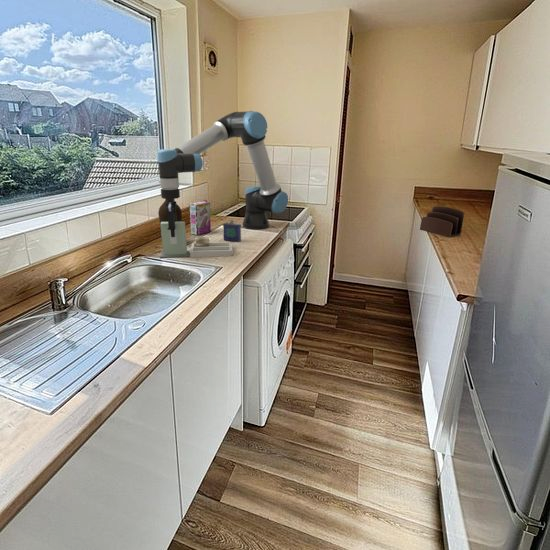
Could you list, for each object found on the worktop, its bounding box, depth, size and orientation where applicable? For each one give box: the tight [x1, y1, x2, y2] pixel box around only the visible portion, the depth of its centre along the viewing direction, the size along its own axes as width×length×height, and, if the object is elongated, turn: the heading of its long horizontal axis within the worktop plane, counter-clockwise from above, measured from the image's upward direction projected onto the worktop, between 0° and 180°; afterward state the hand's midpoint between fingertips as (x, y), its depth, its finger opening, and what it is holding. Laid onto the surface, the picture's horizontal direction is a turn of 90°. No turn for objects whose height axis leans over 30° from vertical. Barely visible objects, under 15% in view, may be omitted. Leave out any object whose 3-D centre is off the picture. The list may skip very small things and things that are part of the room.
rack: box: [189, 241, 233, 258], centre depth 171 cm, size 18×14×2 cm
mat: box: [159, 250, 190, 259], centre depth 166 cm, size 12×8×1 cm, turn 98°
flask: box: [222, 219, 242, 243], centre depth 187 cm, size 9×3×11 cm, turn 75°
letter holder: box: [419, 205, 465, 238], centre depth 211 cm, size 10×20×14 cm, turn 33°
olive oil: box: [158, 199, 183, 229], centre depth 177 cm, size 11×11×25 cm
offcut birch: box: [194, 236, 210, 246], centre depth 172 cm, size 6×4×3 cm
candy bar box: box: [189, 201, 212, 236], centre depth 199 cm, size 11×5×16 cm, turn 149°
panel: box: [159, 221, 188, 255], centre depth 163 cm, size 10×3×14 cm, turn 98°
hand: (174, 242), depth 164 cm, fingers open, 3 cm apart
